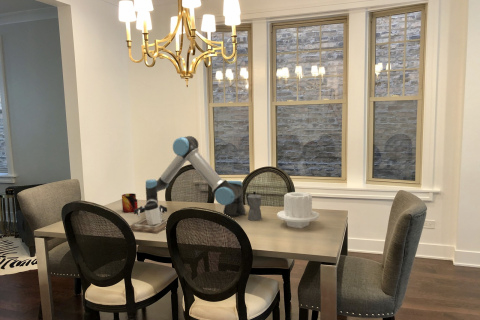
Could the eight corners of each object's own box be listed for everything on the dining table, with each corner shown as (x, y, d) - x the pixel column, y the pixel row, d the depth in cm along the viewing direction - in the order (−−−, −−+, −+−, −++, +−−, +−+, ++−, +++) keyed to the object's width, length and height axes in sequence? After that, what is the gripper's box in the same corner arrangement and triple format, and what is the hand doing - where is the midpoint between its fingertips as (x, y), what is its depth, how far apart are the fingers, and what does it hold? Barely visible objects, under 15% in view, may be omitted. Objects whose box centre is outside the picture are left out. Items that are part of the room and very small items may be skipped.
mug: (137, 213, 266) (136, 196, 265) (120, 212, 270) (118, 196, 268) (144, 210, 275) (143, 193, 274) (127, 209, 279) (126, 193, 277)
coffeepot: (266, 220, 242) (266, 192, 240) (254, 222, 237) (254, 194, 235) (252, 214, 255) (252, 188, 253) (241, 217, 250) (240, 190, 248)
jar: (145, 225, 232) (140, 206, 230) (154, 221, 239) (150, 202, 237) (155, 225, 227) (151, 206, 226) (164, 220, 234) (160, 202, 232)
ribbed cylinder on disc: (305, 234, 212) (305, 201, 210) (268, 226, 228) (268, 195, 226) (326, 223, 231) (326, 193, 228) (291, 217, 247) (291, 188, 245)
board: (175, 222, 240) (175, 218, 240) (157, 233, 220) (156, 228, 219) (145, 220, 247) (145, 216, 247) (124, 230, 227) (124, 226, 227)
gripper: (170, 210, 254) (171, 218, 234) (132, 212, 250) (129, 221, 229) (170, 199, 253) (170, 206, 233) (131, 201, 249) (128, 209, 228)
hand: (150, 213), depth 231 cm, fingers open, 13 cm apart
